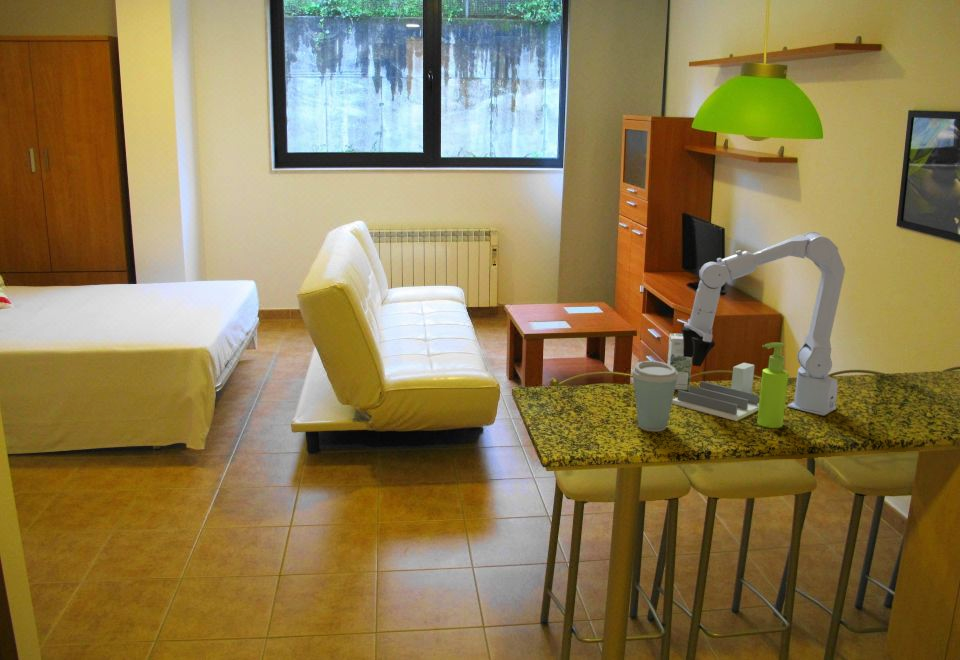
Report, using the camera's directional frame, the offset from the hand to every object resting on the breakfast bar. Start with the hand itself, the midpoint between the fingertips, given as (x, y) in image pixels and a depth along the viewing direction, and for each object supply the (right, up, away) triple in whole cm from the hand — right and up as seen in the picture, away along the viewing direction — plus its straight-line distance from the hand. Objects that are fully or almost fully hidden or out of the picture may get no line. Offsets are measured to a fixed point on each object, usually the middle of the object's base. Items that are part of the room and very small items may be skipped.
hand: (691, 361), depth 228 cm
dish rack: (+6, -11, -1) cm, 13 cm away
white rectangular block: (+15, -9, +9) cm, 20 cm away
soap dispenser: (+15, -15, -13) cm, 25 cm away
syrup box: (-1, -8, +13) cm, 16 cm away
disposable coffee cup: (-14, -15, -17) cm, 27 cm away
